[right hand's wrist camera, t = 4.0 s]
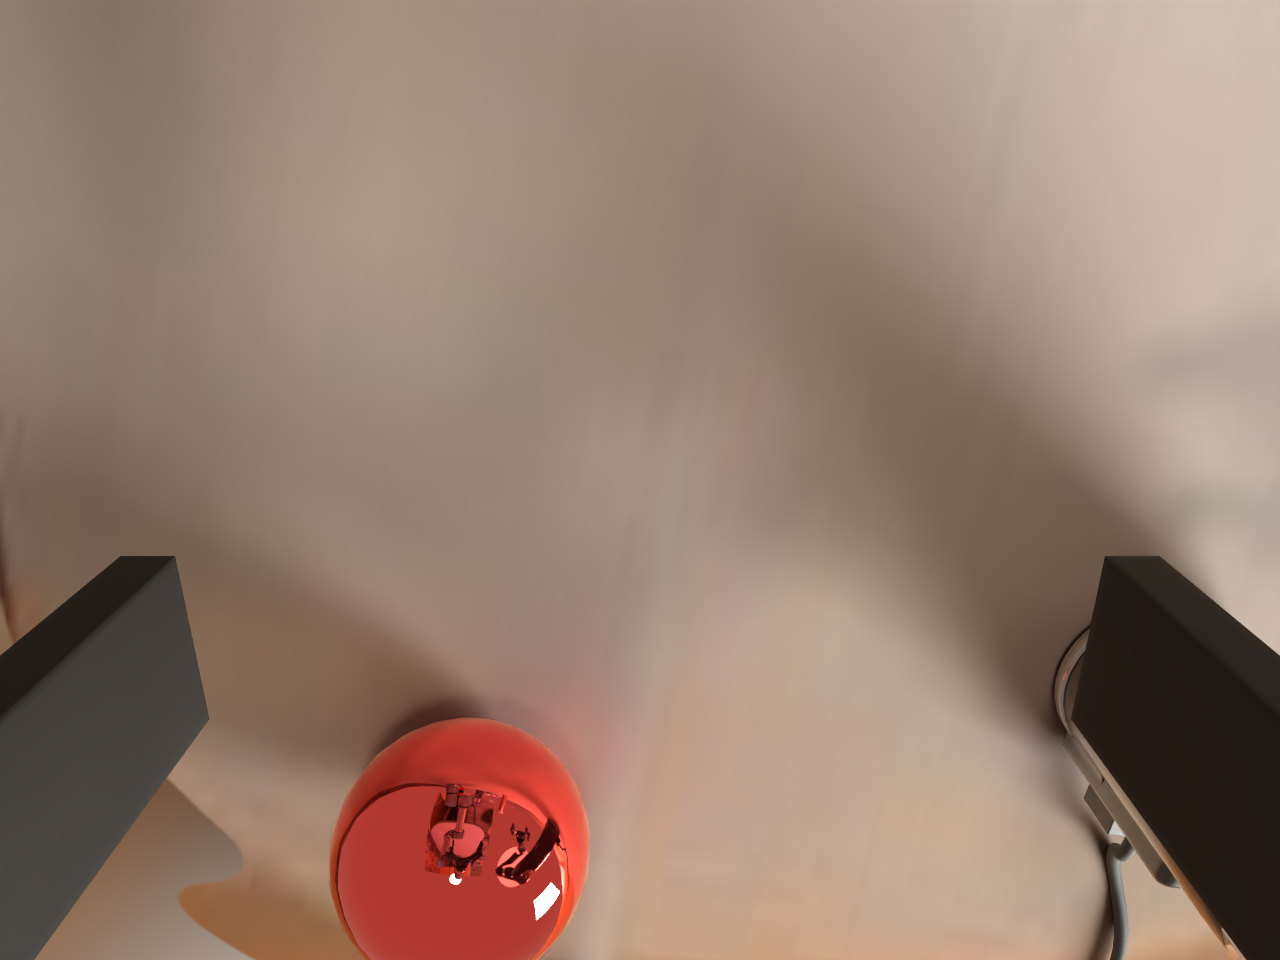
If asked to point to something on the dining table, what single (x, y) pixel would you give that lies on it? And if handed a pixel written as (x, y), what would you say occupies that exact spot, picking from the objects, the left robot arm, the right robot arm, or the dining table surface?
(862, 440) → the dining table surface
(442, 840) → the ball
